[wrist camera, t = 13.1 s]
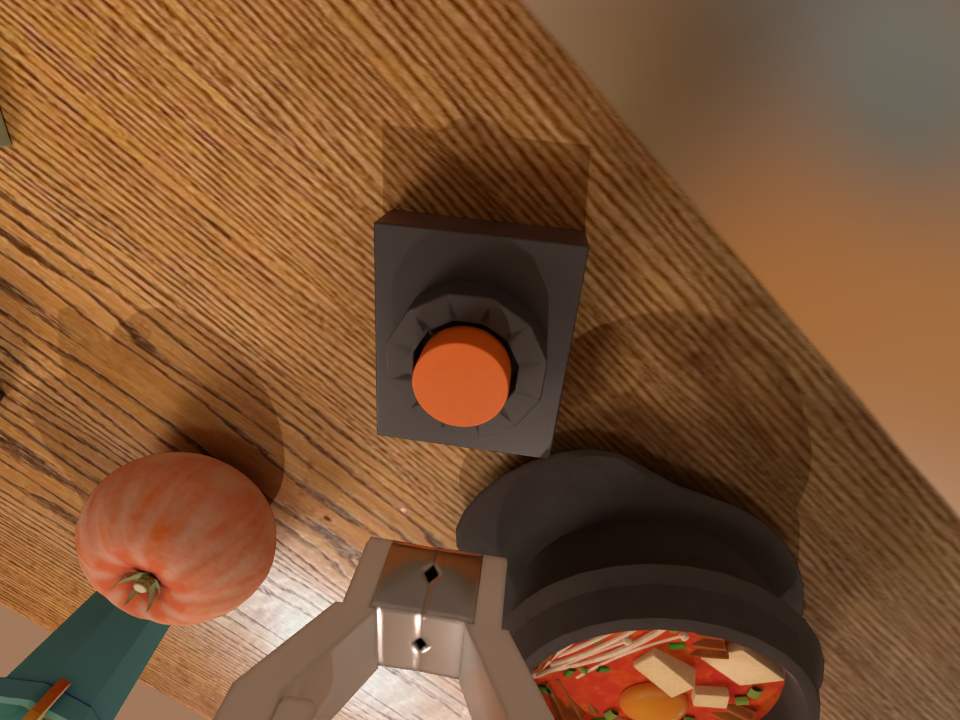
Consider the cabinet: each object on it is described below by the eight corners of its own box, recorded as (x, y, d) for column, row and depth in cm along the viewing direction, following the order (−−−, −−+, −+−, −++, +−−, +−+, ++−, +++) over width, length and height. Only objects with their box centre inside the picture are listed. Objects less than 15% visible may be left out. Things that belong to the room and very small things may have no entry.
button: (422, 319, 21) (412, 336, 20) (516, 330, 21) (514, 349, 20) (419, 399, 23) (410, 420, 22) (506, 410, 23) (503, 433, 22)
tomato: (136, 402, 31) (14, 492, 24) (308, 454, 31) (238, 559, 24) (142, 524, 36) (43, 628, 29) (290, 568, 36) (228, 683, 29)
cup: (193, 653, 43) (35, 903, 29) (103, 621, 42) (-101, 863, 29) (215, 548, 36) (23, 809, 23) (108, 508, 36) (-152, 754, 22)
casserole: (395, 522, 33) (352, 647, 25) (644, 364, 26) (684, 472, 18) (623, 717, 40) (640, 860, 32) (869, 635, 33) (964, 794, 25)
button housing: (390, 209, 24) (359, 232, 20) (585, 230, 23) (593, 259, 19) (390, 407, 29) (365, 457, 25) (549, 429, 28) (549, 483, 24)
